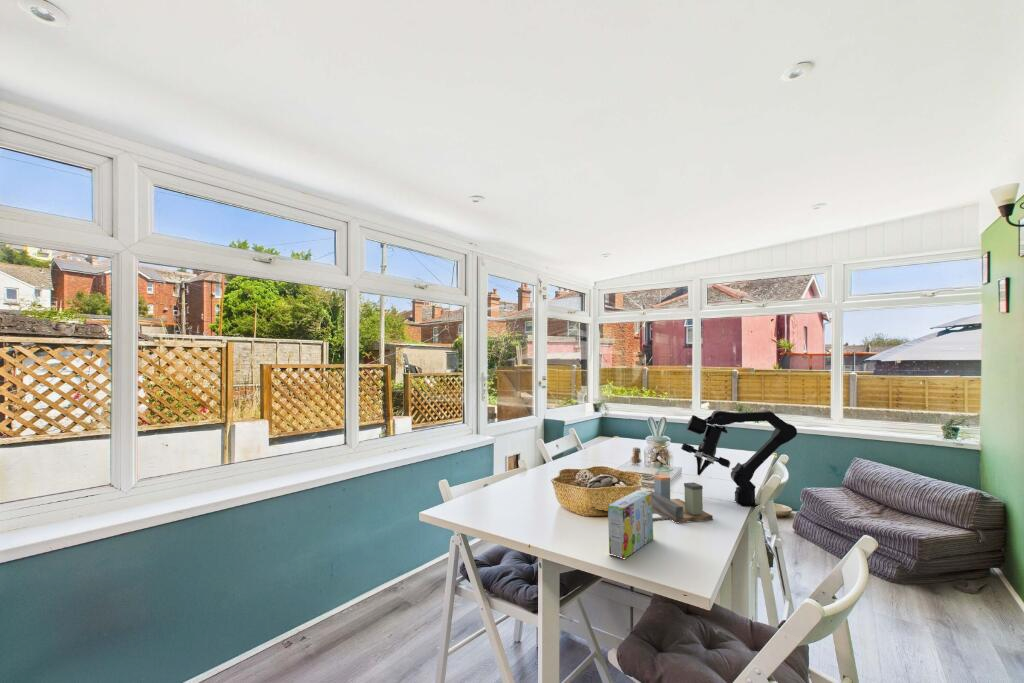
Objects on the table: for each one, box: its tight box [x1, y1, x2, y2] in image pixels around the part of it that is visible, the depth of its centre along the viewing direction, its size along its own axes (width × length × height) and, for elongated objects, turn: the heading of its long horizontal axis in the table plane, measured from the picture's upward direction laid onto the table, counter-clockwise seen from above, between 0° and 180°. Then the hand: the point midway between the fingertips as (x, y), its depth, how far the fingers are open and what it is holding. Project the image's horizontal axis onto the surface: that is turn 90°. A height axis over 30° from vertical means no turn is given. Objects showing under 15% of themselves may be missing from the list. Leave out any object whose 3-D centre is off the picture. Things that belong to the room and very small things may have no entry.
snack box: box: [607, 489, 654, 559], centre depth 144 cm, size 21×6×15 cm, turn 141°
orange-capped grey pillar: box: [653, 474, 671, 500], centre depth 184 cm, size 4×5×10 cm
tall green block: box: [683, 481, 704, 515], centre depth 171 cm, size 4×5×10 cm
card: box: [652, 508, 670, 521], centre depth 175 cm, size 8×14×1 cm, turn 13°
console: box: [646, 490, 714, 523], centre depth 177 cm, size 15×22×6 cm
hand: (698, 475), depth 189 cm, fingers closed
